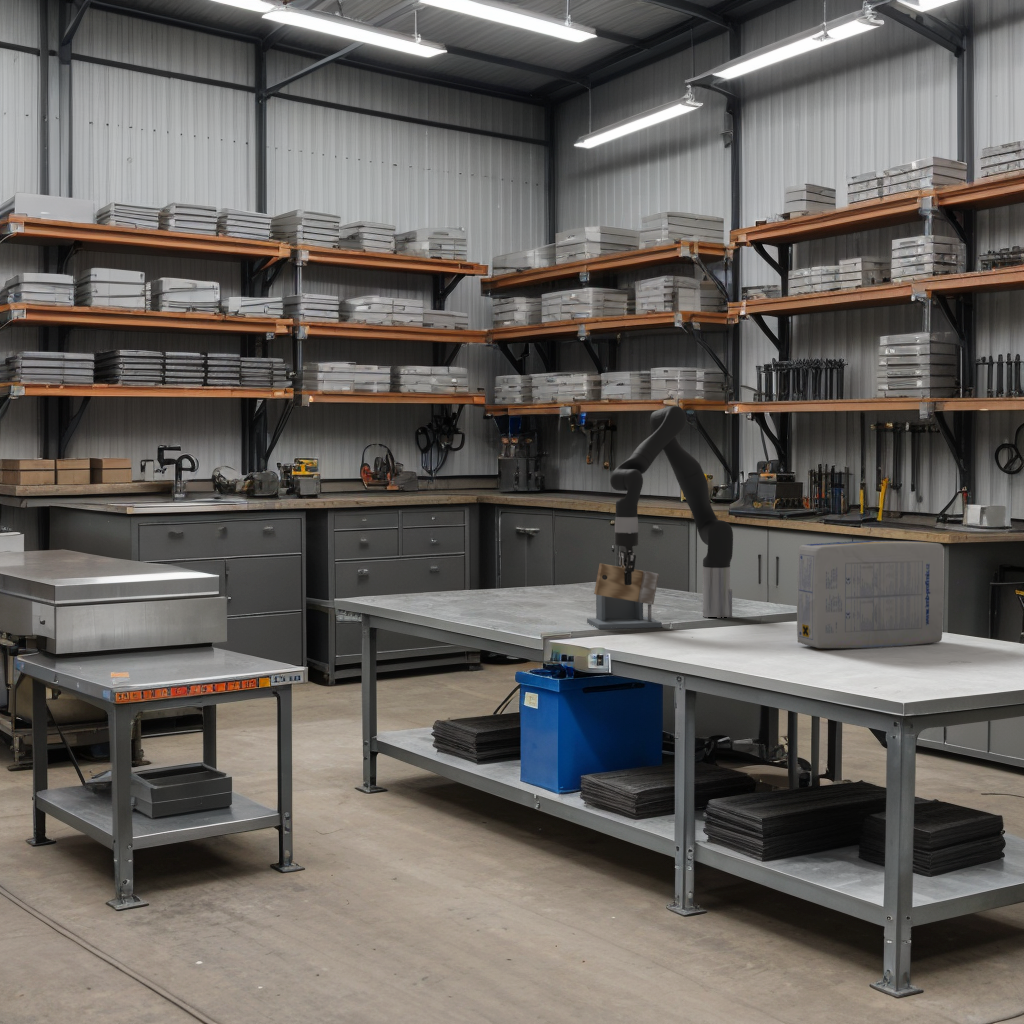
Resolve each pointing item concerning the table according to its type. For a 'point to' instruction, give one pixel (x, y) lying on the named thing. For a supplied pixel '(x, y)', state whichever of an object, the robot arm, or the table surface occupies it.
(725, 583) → the robot arm
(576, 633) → the table surface
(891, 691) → the table surface
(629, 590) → the door
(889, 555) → the construction material bag
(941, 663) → the table surface
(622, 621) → the grey corner bracket
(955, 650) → the table surface
